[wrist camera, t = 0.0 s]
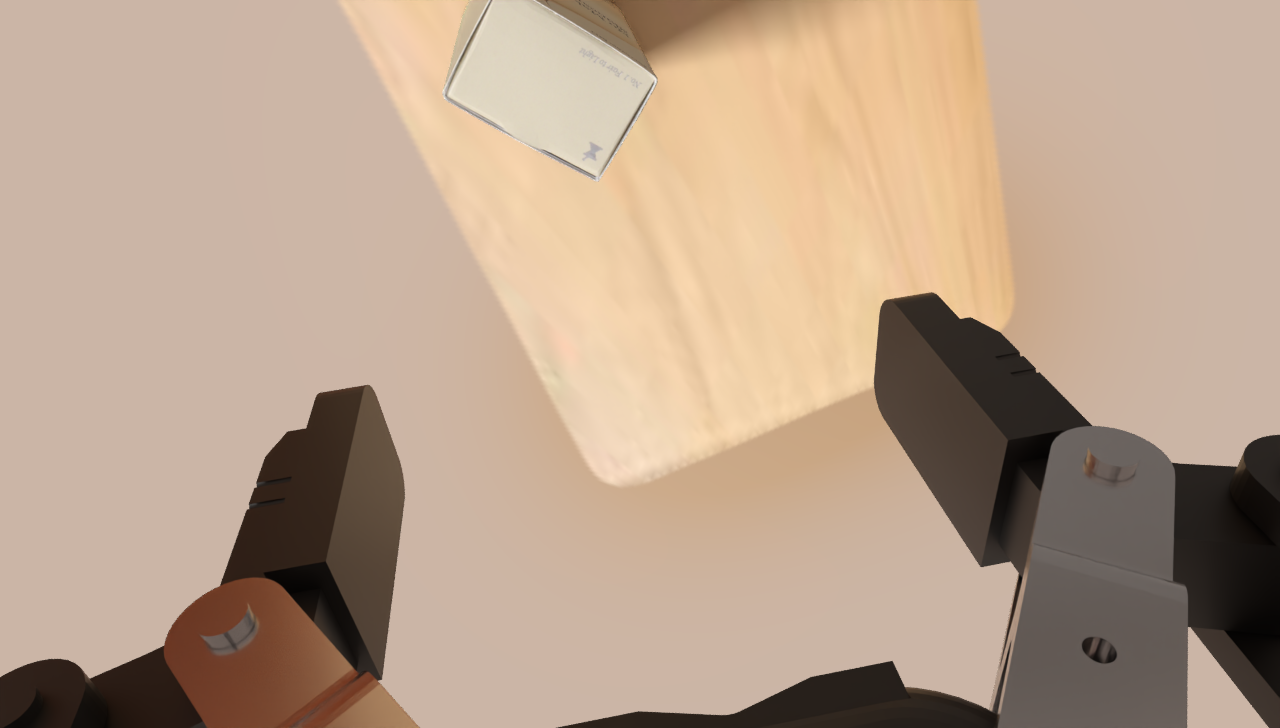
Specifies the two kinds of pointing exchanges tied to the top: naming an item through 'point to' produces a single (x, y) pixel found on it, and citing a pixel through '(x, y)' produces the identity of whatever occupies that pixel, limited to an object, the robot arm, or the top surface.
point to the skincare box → (552, 76)
